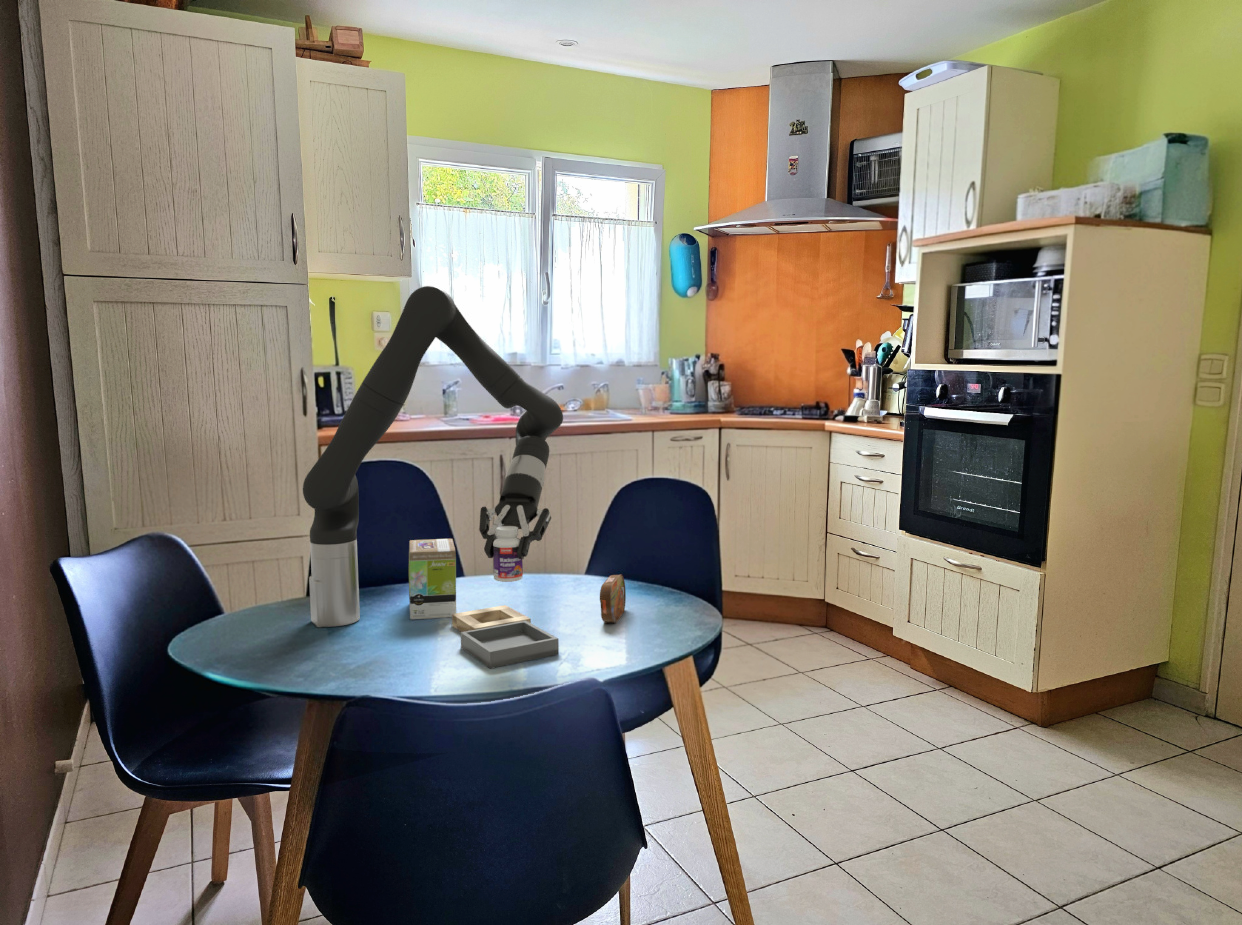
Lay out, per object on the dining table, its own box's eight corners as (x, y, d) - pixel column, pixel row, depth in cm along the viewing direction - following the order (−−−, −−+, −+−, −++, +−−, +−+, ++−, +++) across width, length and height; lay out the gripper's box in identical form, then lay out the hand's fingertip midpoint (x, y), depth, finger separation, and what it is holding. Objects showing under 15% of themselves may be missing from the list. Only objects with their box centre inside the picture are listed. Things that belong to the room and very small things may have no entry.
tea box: (458, 617, 175) (456, 549, 174) (409, 621, 173) (407, 552, 172) (454, 599, 190) (453, 536, 189) (409, 602, 188) (407, 538, 186)
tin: (612, 627, 167) (612, 587, 167) (597, 627, 168) (597, 586, 167) (627, 607, 182) (626, 570, 181) (613, 607, 183) (612, 570, 182)
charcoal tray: (490, 668, 144) (489, 651, 144) (460, 647, 155) (460, 632, 155) (558, 654, 151) (558, 638, 151) (525, 635, 163) (525, 620, 162)
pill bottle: (499, 584, 150) (498, 531, 149) (489, 577, 154) (488, 526, 153) (527, 580, 152) (526, 528, 151) (516, 574, 157) (515, 524, 156)
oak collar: (475, 641, 159) (474, 628, 159) (452, 625, 169) (451, 613, 169) (530, 630, 166) (530, 618, 165) (505, 616, 176) (505, 605, 175)
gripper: (483, 471, 160) (461, 544, 150) (554, 472, 157) (537, 546, 147) (494, 494, 166) (473, 565, 155) (562, 495, 163) (546, 568, 152)
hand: (504, 556), depth 151 cm, fingers closed on pill bottle, 5 cm apart
